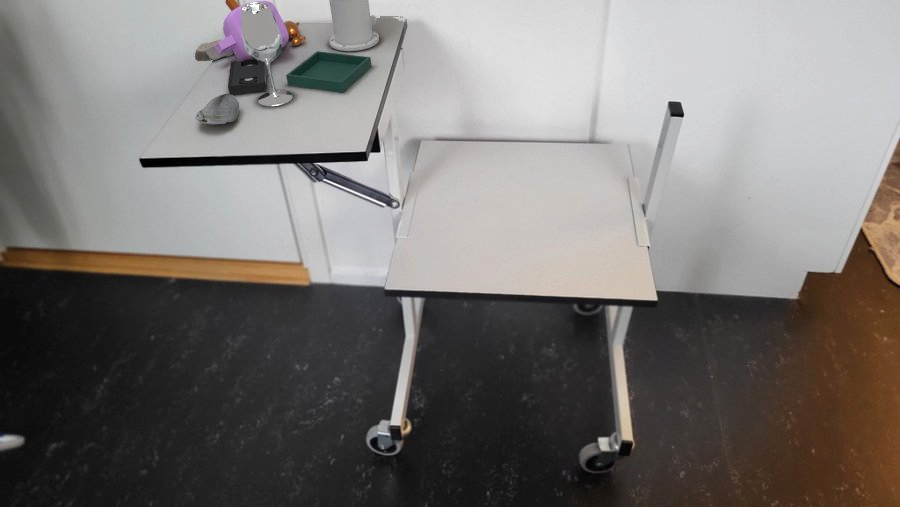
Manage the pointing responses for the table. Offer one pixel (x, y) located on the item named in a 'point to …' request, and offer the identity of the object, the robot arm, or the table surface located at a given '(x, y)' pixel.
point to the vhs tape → (247, 76)
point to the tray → (329, 71)
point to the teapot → (235, 32)
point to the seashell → (219, 110)
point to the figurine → (294, 32)
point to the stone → (210, 52)
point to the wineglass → (263, 45)
